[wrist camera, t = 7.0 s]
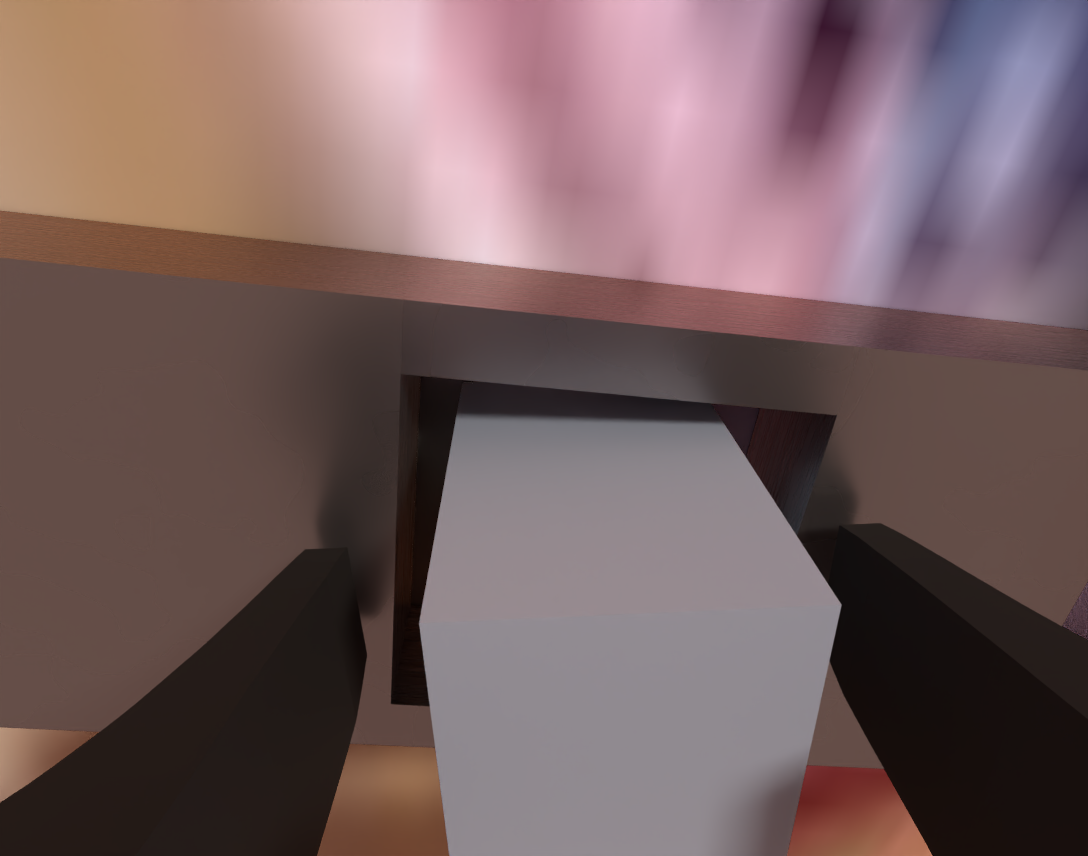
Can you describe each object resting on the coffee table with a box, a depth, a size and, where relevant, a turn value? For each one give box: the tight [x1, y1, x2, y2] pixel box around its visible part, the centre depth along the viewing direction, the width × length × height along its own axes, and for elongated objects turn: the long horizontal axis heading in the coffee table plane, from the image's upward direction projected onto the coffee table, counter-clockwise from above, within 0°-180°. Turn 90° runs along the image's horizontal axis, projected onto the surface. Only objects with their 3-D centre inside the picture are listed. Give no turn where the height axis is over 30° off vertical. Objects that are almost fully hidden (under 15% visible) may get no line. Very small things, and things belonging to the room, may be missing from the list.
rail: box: [0, 211, 1088, 769], centre depth 12 cm, size 28×8×2 cm, turn 83°
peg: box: [419, 382, 841, 856], centre depth 10 cm, size 4×4×6 cm
